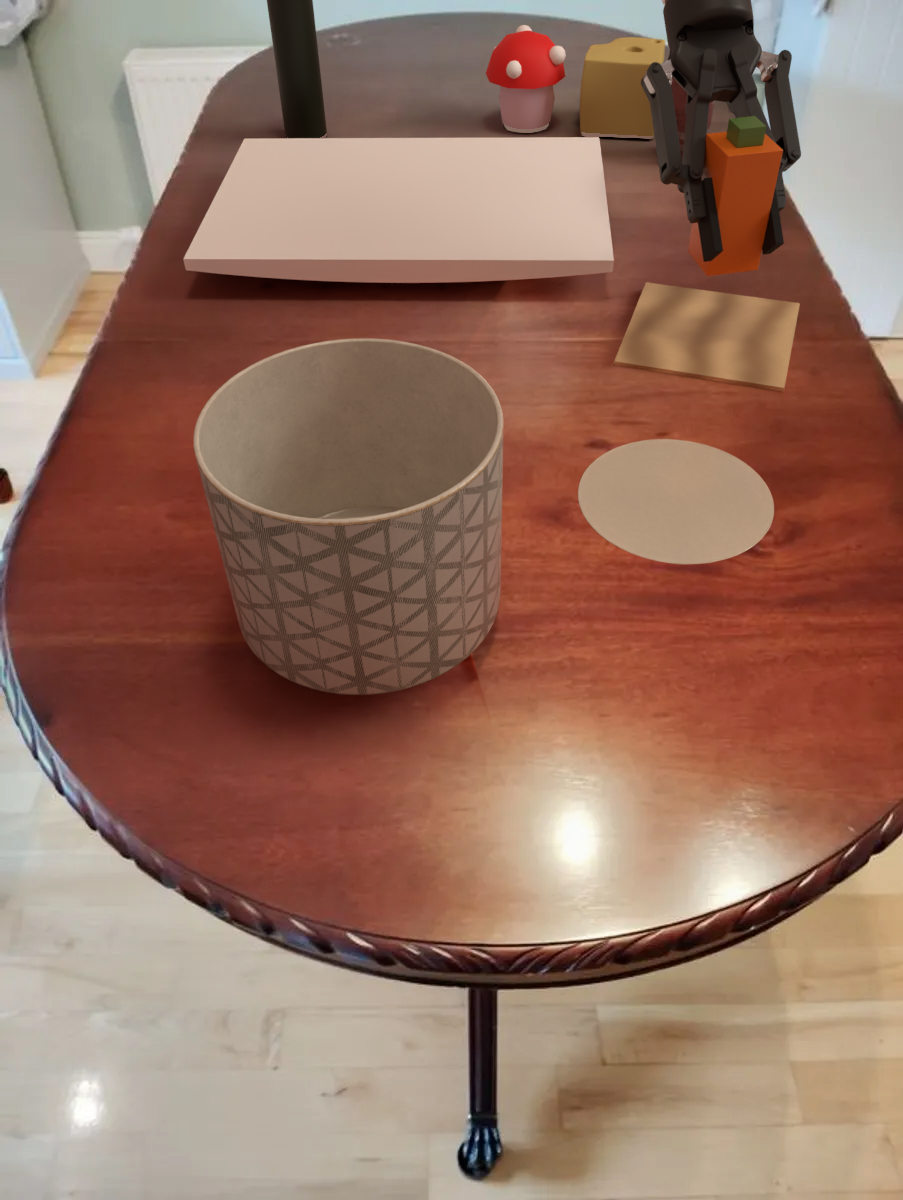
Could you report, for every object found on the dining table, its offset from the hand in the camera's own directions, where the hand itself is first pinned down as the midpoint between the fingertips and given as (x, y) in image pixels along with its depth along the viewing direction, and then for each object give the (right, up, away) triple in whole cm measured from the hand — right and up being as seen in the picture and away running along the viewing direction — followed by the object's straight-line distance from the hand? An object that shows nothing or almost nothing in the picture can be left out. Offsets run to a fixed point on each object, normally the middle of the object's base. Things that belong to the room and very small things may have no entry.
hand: (743, 252), depth 90 cm
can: (+4, +27, +42) cm, 50 cm away
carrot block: (-1, +1, +4) cm, 5 cm away
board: (-31, +12, +29) cm, 44 cm away
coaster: (0, -5, +10) cm, 12 cm away
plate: (-8, -23, -7) cm, 25 cm away
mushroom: (-16, +35, +51) cm, 64 cm away
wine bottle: (-46, +33, +49) cm, 75 cm away
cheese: (-3, +35, +49) cm, 60 cm away
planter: (-32, -33, -15) cm, 49 cm away
